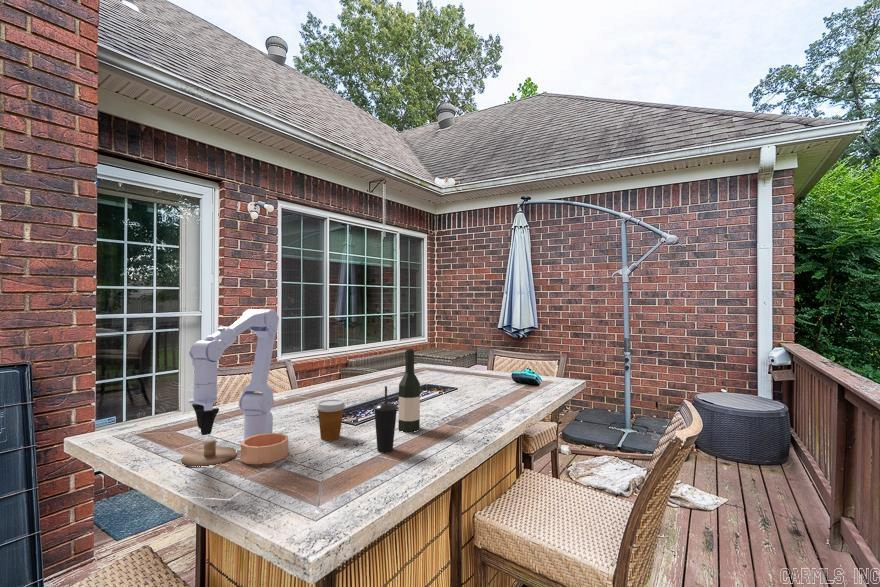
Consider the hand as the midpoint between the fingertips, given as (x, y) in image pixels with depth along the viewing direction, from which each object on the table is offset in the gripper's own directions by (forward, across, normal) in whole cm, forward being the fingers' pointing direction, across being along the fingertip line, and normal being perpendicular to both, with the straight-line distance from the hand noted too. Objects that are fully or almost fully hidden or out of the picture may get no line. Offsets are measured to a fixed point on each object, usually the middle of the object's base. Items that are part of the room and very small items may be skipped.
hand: (204, 430), depth 112 cm
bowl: (+10, +4, +15) cm, 19 cm away
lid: (+9, -4, +2) cm, 10 cm away
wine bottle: (+10, +6, +65) cm, 66 cm away
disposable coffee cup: (+10, -2, +38) cm, 39 cm away
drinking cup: (+10, +20, +47) cm, 52 cm away
